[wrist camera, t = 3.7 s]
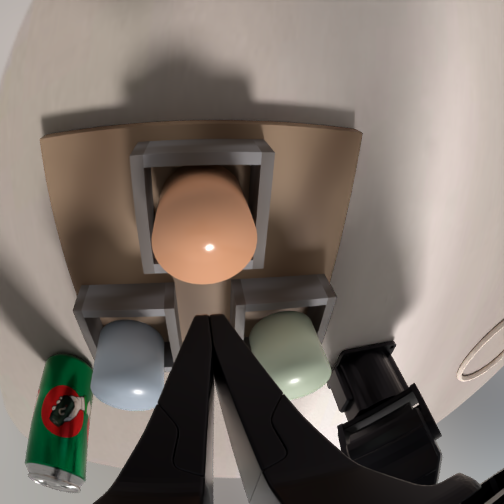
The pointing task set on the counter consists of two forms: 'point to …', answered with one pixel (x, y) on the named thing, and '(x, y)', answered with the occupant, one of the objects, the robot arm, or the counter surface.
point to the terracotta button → (203, 225)
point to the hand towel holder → (475, 350)
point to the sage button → (290, 353)
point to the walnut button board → (145, 206)
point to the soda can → (61, 424)
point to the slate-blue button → (129, 366)
